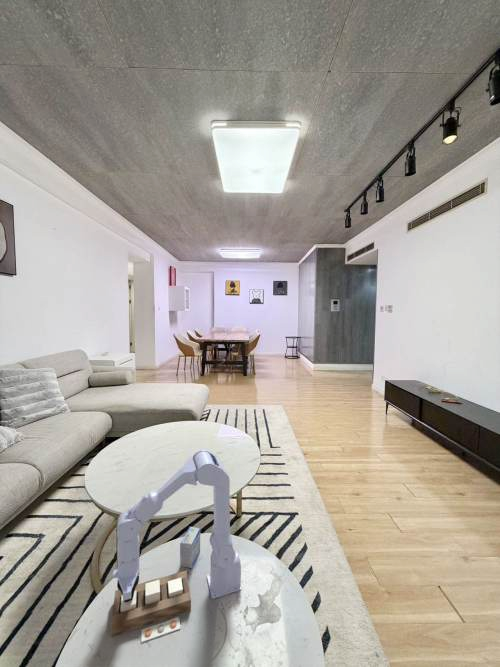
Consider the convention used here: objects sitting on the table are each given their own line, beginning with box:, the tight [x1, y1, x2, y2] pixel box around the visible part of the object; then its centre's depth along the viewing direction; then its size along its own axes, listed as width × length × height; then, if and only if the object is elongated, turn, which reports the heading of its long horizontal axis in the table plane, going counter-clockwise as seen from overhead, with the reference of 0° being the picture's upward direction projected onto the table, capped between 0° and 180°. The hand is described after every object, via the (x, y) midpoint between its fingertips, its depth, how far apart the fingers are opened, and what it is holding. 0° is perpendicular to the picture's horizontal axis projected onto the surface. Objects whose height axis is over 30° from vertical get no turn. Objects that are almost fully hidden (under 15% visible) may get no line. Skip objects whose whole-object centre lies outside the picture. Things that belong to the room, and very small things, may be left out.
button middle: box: [145, 580, 160, 606], centre depth 84 cm, size 4×4×3 cm
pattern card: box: [140, 616, 181, 643], centre depth 78 cm, size 10×3×1 cm, turn 110°
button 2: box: [168, 578, 183, 598], centre depth 86 cm, size 4×4×3 cm
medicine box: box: [179, 526, 201, 569], centre depth 100 cm, size 8×4×9 cm, turn 168°
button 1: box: [121, 591, 136, 613], centre depth 81 cm, size 4×4×3 cm
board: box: [110, 570, 192, 638], centre depth 84 cm, size 21×10×3 cm, turn 110°
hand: (128, 599), depth 81 cm, fingers closed, pressing on button 1
